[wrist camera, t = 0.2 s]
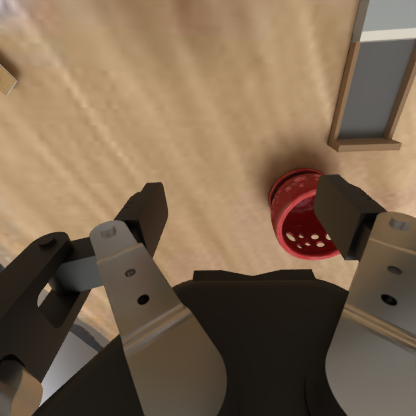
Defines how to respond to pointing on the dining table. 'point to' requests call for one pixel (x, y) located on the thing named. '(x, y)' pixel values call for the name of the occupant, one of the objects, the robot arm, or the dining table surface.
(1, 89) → the architectural model
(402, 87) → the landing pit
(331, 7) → the dining table surface
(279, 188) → the plant pot
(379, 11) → the deck
